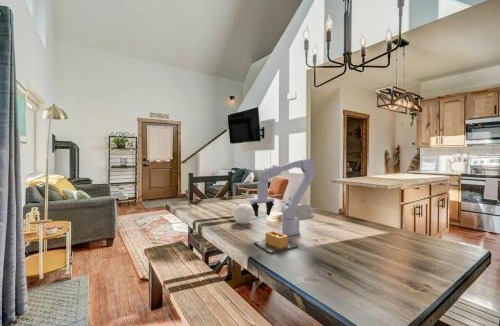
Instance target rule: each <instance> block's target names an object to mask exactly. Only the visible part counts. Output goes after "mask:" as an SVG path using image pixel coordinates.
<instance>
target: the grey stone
mask: <svg viewBox="0 0 500 326" xmlns="http://www.w3.org/2000/svg"><path fill="white" fill-rule="evenodd" d="M295 217H297V218H298V219H299V220H304V219H309V218H310V219H311V218H314V217H315V216H314V214H313V213H312V210H311V207H310V205H308V204H298V207H297V210H296V214H295Z"/></svg>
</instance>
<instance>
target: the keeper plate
mask: <svg viewBox="0 0 500 326" xmlns="http://www.w3.org/2000/svg"><path fill="white" fill-rule="evenodd" d="M278 237H279V236H278ZM253 245H255V246H257V247H258V248H260V249H261V250H263V251H264V252H265V253H267V254H269V255H272V254H273V255H274V254H278V253H281V252H286V251H290V250H293V249H294V250H295V249H299V245H298V244H296V243H294V242H292V241H290V240H288V246H287V247H284V248H281V249H279V248H277V247H274V246H272V245H270V244H267V243H266V239H262V240H257V241H253Z"/></svg>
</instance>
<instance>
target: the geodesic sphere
mask: <svg viewBox="0 0 500 326" xmlns="http://www.w3.org/2000/svg"><path fill="white" fill-rule="evenodd" d="M232 215H233V219H234V221H235V222H236V223H237V224H240V225H243V226H244V225H248V224H249V223H250V222H252V221H253V218H254V217H255V213H254V210H253V207H252V206H251V205H250V204H248V203H245V202H242V203H237V204H235V207H234V210H233V214H232Z"/></svg>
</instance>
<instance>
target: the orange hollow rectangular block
mask: <svg viewBox="0 0 500 326" xmlns="http://www.w3.org/2000/svg"><path fill="white" fill-rule="evenodd" d="M278 236H279V237H278ZM265 240H266V243H267V244H270V245H272V246H274V247H277V248H279V249H281V248H284V247H287V246H288V241H289V236H287V235H284V234H281V233H279V231H275V230H271V231H268V232H265Z"/></svg>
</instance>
